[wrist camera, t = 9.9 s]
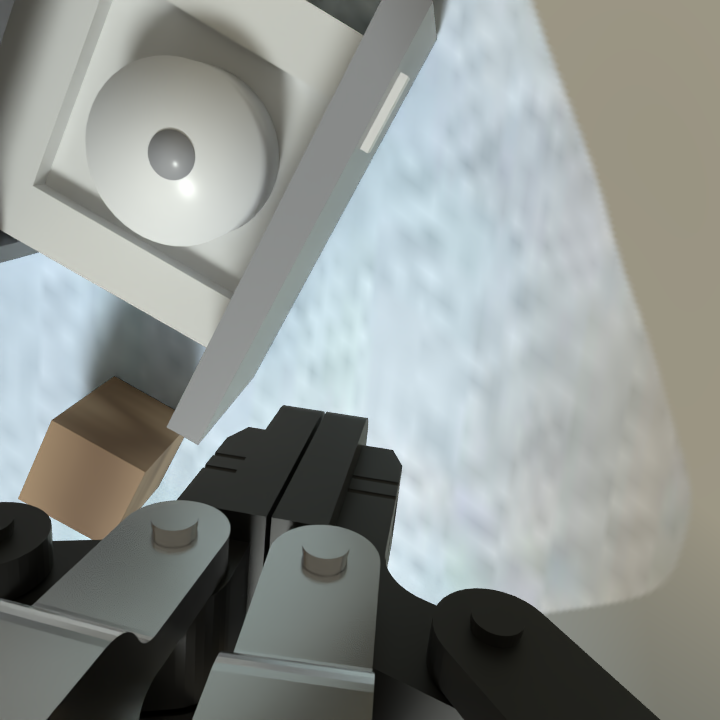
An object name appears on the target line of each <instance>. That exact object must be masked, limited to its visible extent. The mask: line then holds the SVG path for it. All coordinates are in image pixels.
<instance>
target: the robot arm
mask: <svg viewBox="0 0 720 720" xmlns="http://www.w3.org/2000/svg"><path fill="white" fill-rule="evenodd" d="M367 432H368V418H363V417H357V416H350V415H344V414H338V413H331V412H326V414H325V412H324V411H318V410H311V409H305V408H298V407H292V406H286V405H283V406H282V407H281V408H280V410H279V411H278V413H277V414H276V415H275V417H274V418H273V420H272V421H271V423H270V424H269V425H268V427H267V428H266V430H264V429H258V428H251V427H248V428H246V429H244V430H242V431H240V432H238V433H236V434H234V435H232V436H230V437H228V438H227V439H226V440H225V441H224V442H223V444H222V445H221V446H220V447H219V448H218V450H217V451H216V452H215V455H213V456H212V457H211V458H210V460H209V461H208V462H207V463H206V465H205V468H202V469H201V471H200V472H199V473H198V474H197V476H196V477H195V478H194V479H193V481H192V482H191V483H190V484H189V486H188V487H187V488H186V489H185V490H184V492H183V493H182V494H181V495H180V497H179V498H178V499H177V500H174V501H164V502H159V503H154V504H151V505H148V506H145V507H143V508H140V509H138V510H136V511H134V512H133V513H131V514H130V515H129V516H127V517H126V518H125V519H124V520H123V521H122V522H121V523H120V524H118V525H117V526H116V527H115V528H114V529H113V530H112V531H111V532H110V533H109V534H108V535H107V536H106V537H105V538H104V539H102V540H74V541H52V525H51V519H50V518H49V516H48V515H47V514H46V513H45V512H44V511H43V510H41V509H39V508H37V507H35V506H32V505H28V504H23V503H15V502H0V720H660V719H659V718H658V717H657V716H656V715H654V714H653V713H652V712H651V711H650V710H649V709H648V708H646V707H645V706H644V705H643V704H642V703H641V702H640V701H639V700H638V699H637V698H635V697H634V696H633V695H632V694H631V693H630V692H629V691H627V689H625V688H624V687H623V686H622V685H621V684H620V683H619V682H618V681H616V680H615V679H614V678H613V677H612V676H611V675H610V674H609V673H608V672H607V671H605V670H604V669H603V668H602V667H601V666H600V665H599V664H598V663H597V662H595V661H594V660H593V659H592V658H591V657H590V656H589V655H588V654H587V653H585V652H584V651H583V650H582V649H581V648H580V647H579V646H578V645H577V644H575V643H574V642H573V641H572V640H571V639H570V638H569V637H568V636H567V635H565V634H564V633H563V632H562V631H561V630H560V629H559V628H558V627H557V626H555V625H554V624H553V623H552V622H551V621H550V620H549V619H548V618H547V617H545V616H544V615H543V614H542V613H541V612H540V611H538V610H537V609H536V608H535V607H533V606H532V605H530V604H529V603H527V602H525V601H523V600H521V599H519V598H517V597H515V596H512V595H510V594H507V593H504V592H500V591H496V590H490V589H478V588H474V589H464V590H460V591H456V592H454V593H451V594H449V595H448V596H446V597H444V598H443V599H442V600H441V601H440V602H439V603H438V604H437V606H436V605H434V604H432V603H429V602H427V601H425V600H423V599H421V598H419V597H417V596H415V595H413V594H411V593H410V592H408V591H407V590H405V589H404V588H403V587H402V586H400V585H399V584H398V583H397V582H396V581H395V579H394V578H393V577H392V576H391V574H390V573H389V571H388V569H387V565H388V560H389V555H390V549H391V544H392V537H393V530H394V523H395V515H396V508H397V501H398V494H399V486H400V479H401V472H402V465H401V463H400V461H399V460H398V458H397V456H396V455H395V453H394V451H393V450H389V449H383V448H377V447H370V446H366V441H367Z"/></svg>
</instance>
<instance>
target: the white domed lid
mask: <svg viewBox="0 0 720 720" xmlns="http://www.w3.org/2000/svg"><path fill="white" fill-rule="evenodd" d="M85 144H86V156H87V163H88V166H89V170H90V174H91V177H92V179H93V182H94V184H95V187H96V189H97V191H98V193H99V194H100V196H101V198H102V199H103V201H104V202H105V204H106V205H107V207H108V208H109V209H110V211H111V212H112V213H113V214H114V215H115V216H116V217H117V218H118V219H119V220H120V221H121V222H122V223H123V224H124V225H125V226H127V227H128V228H129V229H131V230H132V231H134V232H135V233H137V234H139V235H141V236H142V237H144V238H146V239H149V240H151V241H154V242H157V243H161V244H164V245H171V246H193V245H199V244H202V243H206V242H209V241H211V240H213V239H215V238H218V237H220V236H222V235H224V234H227V233H229V232H231V231H233V230H236V229H238V228H240V227H241V226H243V225H245V224H246V223H248V222H249V221H250V220H251V219H252V218H254V217H255V216H256V215H257V214H258V212H259V211H260V210H261V209H262V208H263V206H264V205H265V203H266V202H267V200H268V199H269V197H270V194H271V192H272V190H273V188H274V185H275V182H276V178H277V173H278V166H279V147H278V140H277V135H276V131H275V128H274V125H273V122H272V120H271V117H270V115H269V113H268V111H267V109H266V108H265V106H264V104H263V102H262V101H261V100H260V98H259V97H258V96H257V95H256V93H255V92H254V91H253V90H252V89H251V88H250V87H249V86H248V85H247V84H246V83H245V82H243V81H242V80H241V79H240V78H238V77H237V76H235V75H233V74H232V73H230V72H228V71H226V70H224V69H222V68H219V67H217V66H213V65H209V64H206V63H202V62H198V61H194V60H190V59H187V58H183V57H179V56H170V55H158V56H151V57H145V58H142V59H139V60H136V61H134V62H131V63H130V64H128V65H126V66H124V67H122V68H121V69H120V70H118V71H117V72H116V73H115V74H113V75H112V76H111V77H110V78H109V79H108V81H107V82H106V83H105V84H104V85H103V87H102V88H101V90H100V91H99V92H98V94H97V96H96V98H95V100H94V102H93V104H92V107H91V110H90V113H89V116H88V121H87V126H86V136H85Z"/></svg>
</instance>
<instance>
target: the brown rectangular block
mask: <svg viewBox="0 0 720 720" xmlns="http://www.w3.org/2000/svg"><path fill="white" fill-rule="evenodd" d="M174 411H175V410H174V409H172V408H170V407H168V406H167V405H165V404H163V403H161V402H160V401H158V400H156V399H154V398H152V397H151V396H149V395H147V394H145V393H144V392H142V391H140V390H138V389H136V388H135V387H133V386H131V385H129V384H128V383H126V382H124V381H122V380H121V379H119V378H117V377H115V376H114V377H112V378H111V379H110V380H108V381H107V382H105V383H104V384H102V385H101V386H100V387H98V388H97V389H95V390H94V391H92V392H91V393H90V394H88V395H87V396H85V397H84V398H83V399H81V400H80V401H78V402H77V403H75V404H74V405H73V406H71V407H70V408H68V409H67V410H66V411H64V412H63V413H61V414H60V415H58V416H57V417H56V418H54V419H53V420H52V421H51V423H50V425H49V428H48V430H47V432H46V435H45V437H44V439H43V442H42V444H41V446H40V449H39V451H38V453H37V456H36V458H35V460H34V463H33V465H32V467H31V470H30V472H29V474H28V477H27V479H26V481H25V484H24V486H23V489H22V491H21V493H20V496H19V498H18V499H19V500H21V501H23V502H25V503H27V504H28V505H32V506H35V507H37V508H39V509H41V510H43V511H44V512H45V513H46V514H47V515H48V516H50V517H52V518H54V519H56V520H58V521H59V522H61V523H63V524H65V525H67V526H68V527H70V528H72V529H74V530H76V531H78V532H79V533H81V534H83V535H85V536H87V537H89V538H90V539H92V540H102V539H104V538H105V537H106V536H107V535H108V534H109V533H110V532H111V531H112V530H113V529H114V528H115V527H116V526H117V525H118V524H120V523H121V522H122V521H123V520H124V519H125V518H126V517H127V516H129V515H130V514H131V513H133V512H134V511H136V510H138V509H140V508H141V507H142V506H143V505H144V503H145V502H146V501H147V500H148V499H149V497H150V496H151V495H152V494H153V493H154V491H155V490H156V489H157V488H158V487H159V485H160V483H161V481H162V479H163V477H164V475H165V473H166V471H167V469H168V467H169V465H170V463H171V462H172V460H173V458H174V456H175V454H176V452H177V450H178V448H179V446H180V444H181V442H182V440H183V438H184V437H183V436H181V435H179V434H178V433H176V432H174V431H172V430H170V429H169V428H167V425H168V423H169V421H170V419H171V417H172V415H173V413H174Z"/></svg>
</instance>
